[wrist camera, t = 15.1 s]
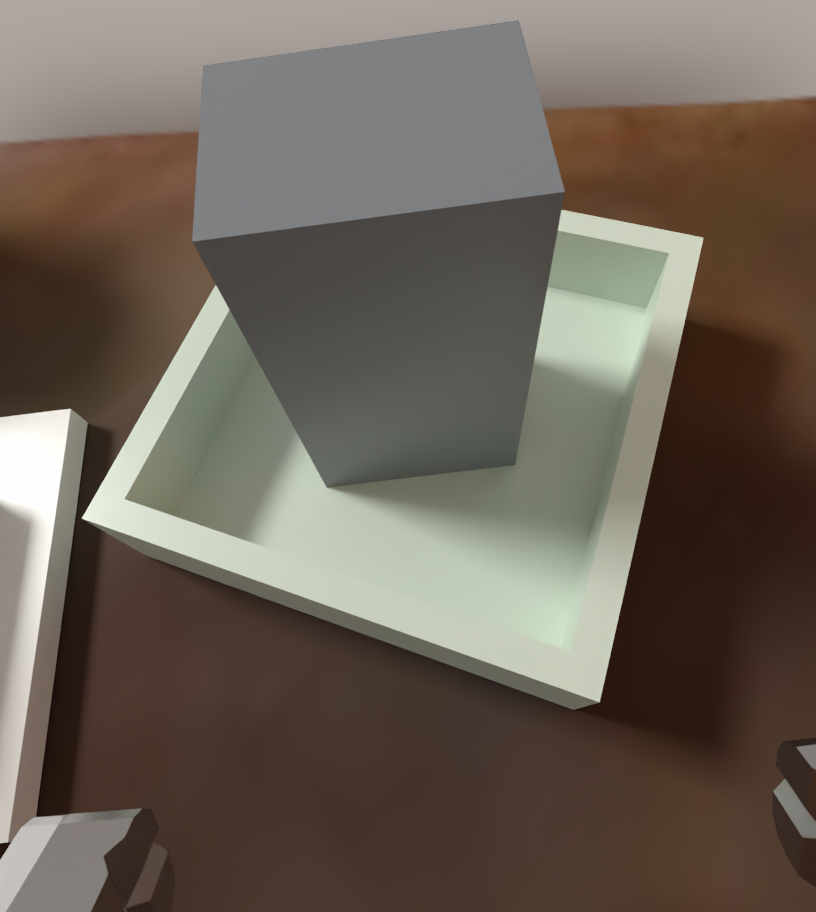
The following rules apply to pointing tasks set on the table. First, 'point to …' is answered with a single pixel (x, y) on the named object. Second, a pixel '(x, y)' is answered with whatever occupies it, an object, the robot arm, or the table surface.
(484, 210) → the gray rectangular block
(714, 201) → the table surface
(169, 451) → the sage tray
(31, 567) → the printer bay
